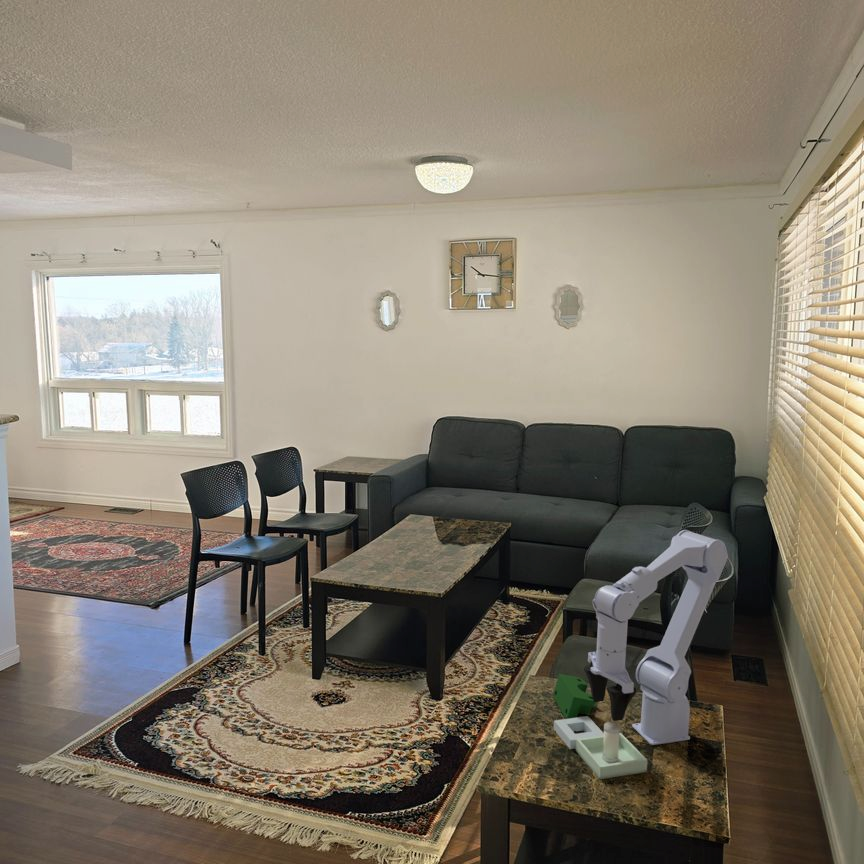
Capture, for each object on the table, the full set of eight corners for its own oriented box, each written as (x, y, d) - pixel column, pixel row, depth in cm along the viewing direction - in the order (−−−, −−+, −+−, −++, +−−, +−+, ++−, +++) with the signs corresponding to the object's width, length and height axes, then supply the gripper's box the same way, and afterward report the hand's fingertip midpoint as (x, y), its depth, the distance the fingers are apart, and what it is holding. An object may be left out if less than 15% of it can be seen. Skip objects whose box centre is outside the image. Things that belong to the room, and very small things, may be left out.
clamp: (584, 735, 173) (600, 708, 168) (559, 730, 172) (575, 703, 167) (575, 691, 183) (590, 666, 179) (551, 686, 182) (566, 660, 178)
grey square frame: (587, 724, 169) (587, 716, 168) (605, 744, 161) (605, 735, 161) (553, 729, 166) (553, 720, 166) (570, 749, 159) (570, 740, 159)
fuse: (613, 753, 157) (615, 721, 156) (621, 761, 154) (623, 729, 153) (599, 755, 156) (601, 723, 155) (607, 764, 153) (608, 731, 152)
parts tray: (620, 744, 161) (620, 732, 161) (646, 771, 152) (647, 760, 151) (575, 750, 158) (576, 739, 158) (599, 779, 149) (600, 767, 148)
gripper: (576, 633, 160) (572, 695, 162) (612, 664, 146) (608, 731, 148) (606, 630, 162) (603, 691, 164) (644, 660, 148) (640, 726, 150)
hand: (607, 710), depth 156 cm, fingers open, 7 cm apart
